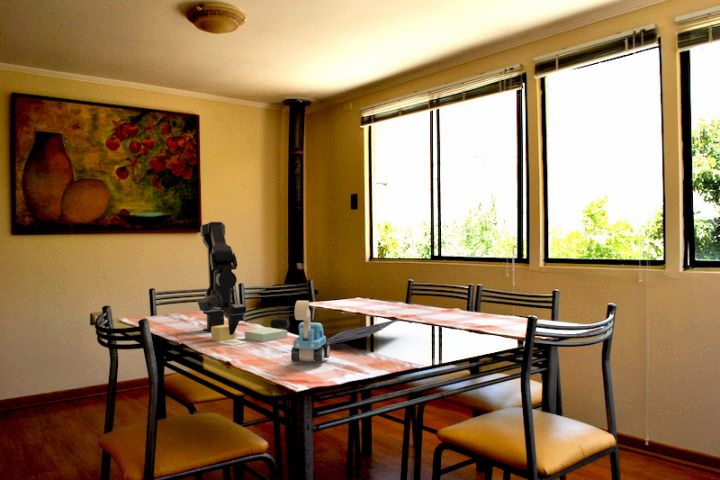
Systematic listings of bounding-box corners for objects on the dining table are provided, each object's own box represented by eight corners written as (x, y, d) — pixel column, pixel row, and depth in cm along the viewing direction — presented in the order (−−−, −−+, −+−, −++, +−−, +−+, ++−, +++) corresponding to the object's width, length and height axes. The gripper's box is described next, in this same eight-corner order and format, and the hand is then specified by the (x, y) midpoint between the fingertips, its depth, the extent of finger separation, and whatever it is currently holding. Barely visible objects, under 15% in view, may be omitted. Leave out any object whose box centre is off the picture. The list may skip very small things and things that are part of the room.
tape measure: (287, 328, 195) (287, 317, 196) (268, 330, 195) (268, 319, 196) (290, 329, 201) (289, 319, 202) (272, 330, 202) (271, 320, 202)
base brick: (244, 340, 182) (244, 331, 182) (268, 336, 189) (268, 327, 189) (263, 343, 175) (263, 334, 175) (287, 339, 183) (287, 330, 183)
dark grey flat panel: (303, 359, 167) (301, 347, 167) (341, 339, 195) (339, 329, 195) (375, 343, 159) (372, 331, 159) (404, 326, 187) (402, 315, 187)
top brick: (211, 340, 181) (211, 326, 181) (226, 337, 185) (226, 324, 185) (219, 341, 178) (219, 328, 178) (235, 339, 182) (235, 325, 182)
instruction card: (217, 342, 175) (217, 341, 175) (233, 340, 180) (233, 339, 180) (231, 345, 170) (231, 344, 170) (247, 342, 174) (247, 341, 174)
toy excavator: (282, 369, 138) (281, 301, 138) (301, 355, 154) (300, 294, 154) (315, 370, 136) (314, 301, 136) (330, 356, 152) (330, 295, 152)
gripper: (186, 287, 182) (186, 333, 182) (217, 289, 169) (218, 340, 169) (215, 285, 190) (215, 329, 190) (247, 287, 178) (247, 335, 178)
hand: (223, 333), depth 182 cm, fingers open, 9 cm apart
